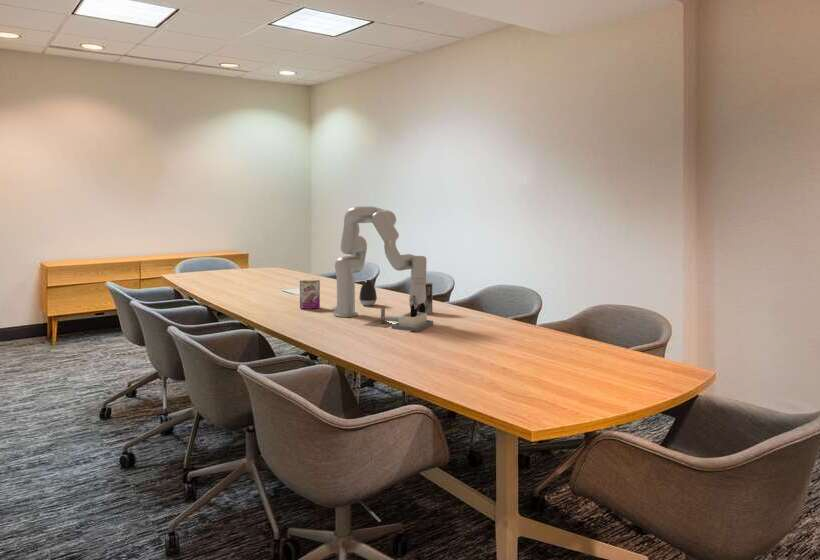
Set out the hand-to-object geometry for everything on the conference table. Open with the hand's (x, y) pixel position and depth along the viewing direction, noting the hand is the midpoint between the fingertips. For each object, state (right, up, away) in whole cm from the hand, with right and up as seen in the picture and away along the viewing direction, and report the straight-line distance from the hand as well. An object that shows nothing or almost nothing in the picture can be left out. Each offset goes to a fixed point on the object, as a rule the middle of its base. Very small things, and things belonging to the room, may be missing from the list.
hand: (417, 315), depth 302 cm
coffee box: (+4, -1, +33) cm, 33 cm away
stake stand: (-17, -5, +1) cm, 18 cm away
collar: (-3, -5, -5) cm, 7 cm away
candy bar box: (-61, +1, +44) cm, 75 cm away
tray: (-3, -6, -5) cm, 8 cm away
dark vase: (-29, +2, +55) cm, 62 cm away
